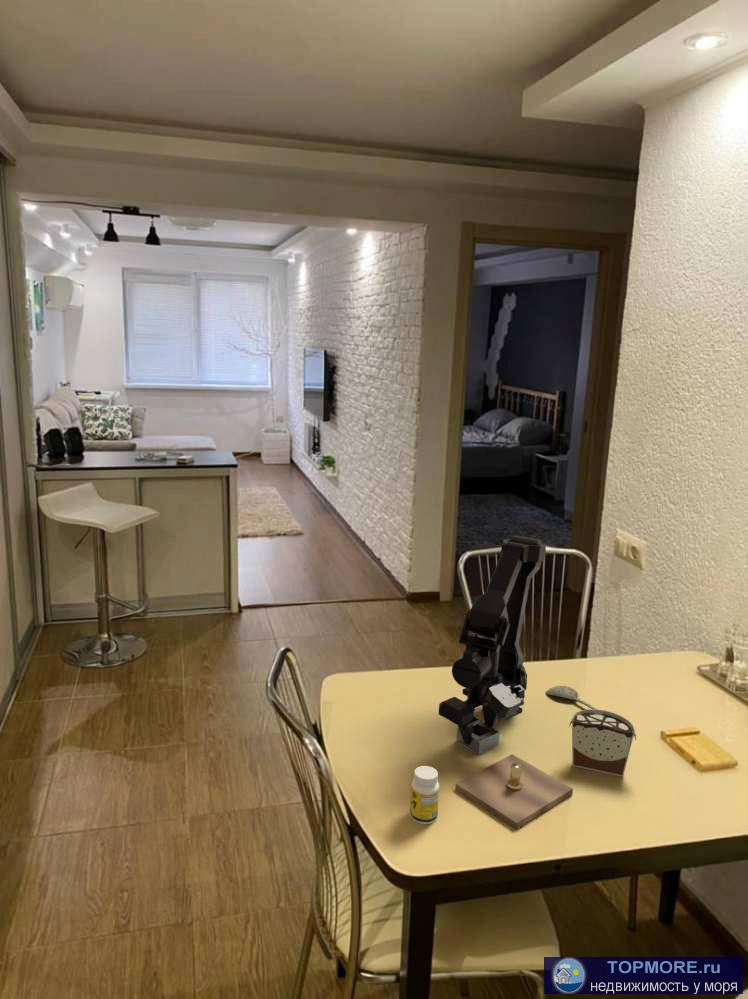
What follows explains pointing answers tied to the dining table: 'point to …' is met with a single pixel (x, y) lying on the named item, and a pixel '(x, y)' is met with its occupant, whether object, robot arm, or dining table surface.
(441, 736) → the dining table surface
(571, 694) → the soupspoon
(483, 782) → the keeper board
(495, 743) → the grey square ring
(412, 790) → the supplement bottle
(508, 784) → the keeper peg
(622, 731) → the slice of cake
